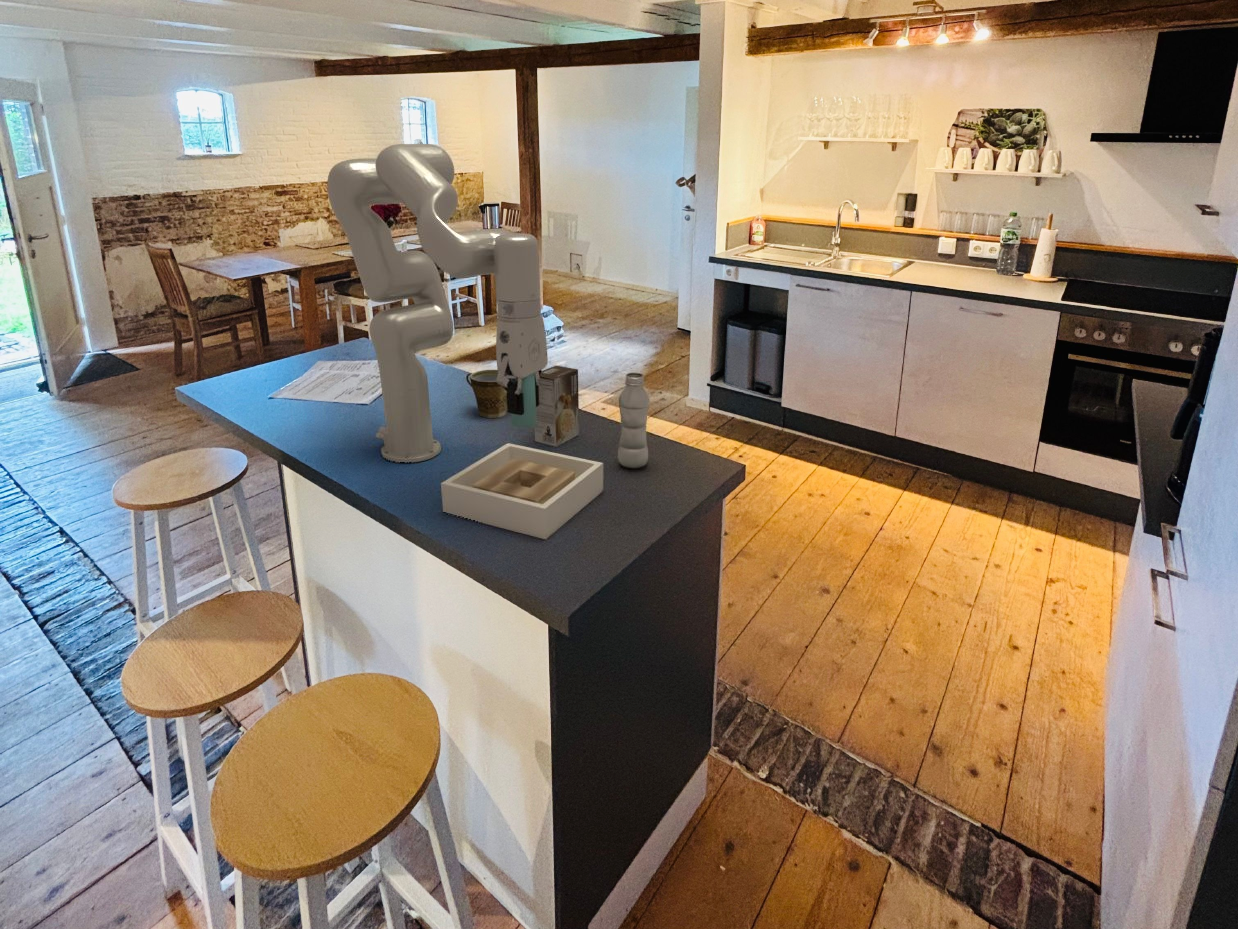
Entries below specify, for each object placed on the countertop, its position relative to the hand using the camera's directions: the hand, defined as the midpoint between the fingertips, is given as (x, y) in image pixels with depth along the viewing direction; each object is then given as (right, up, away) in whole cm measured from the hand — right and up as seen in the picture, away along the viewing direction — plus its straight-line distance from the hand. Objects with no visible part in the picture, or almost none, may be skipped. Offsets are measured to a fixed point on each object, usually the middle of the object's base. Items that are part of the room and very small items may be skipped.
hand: (523, 408), depth 138 cm
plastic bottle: (+20, -11, +24) cm, 33 cm away
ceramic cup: (-16, +3, +53) cm, 55 cm away
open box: (-1, -17, +8) cm, 19 cm away
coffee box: (+3, -4, +38) cm, 38 cm away
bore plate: (-1, -17, +8) cm, 19 cm away
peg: (0, -3, +1) cm, 3 cm away
